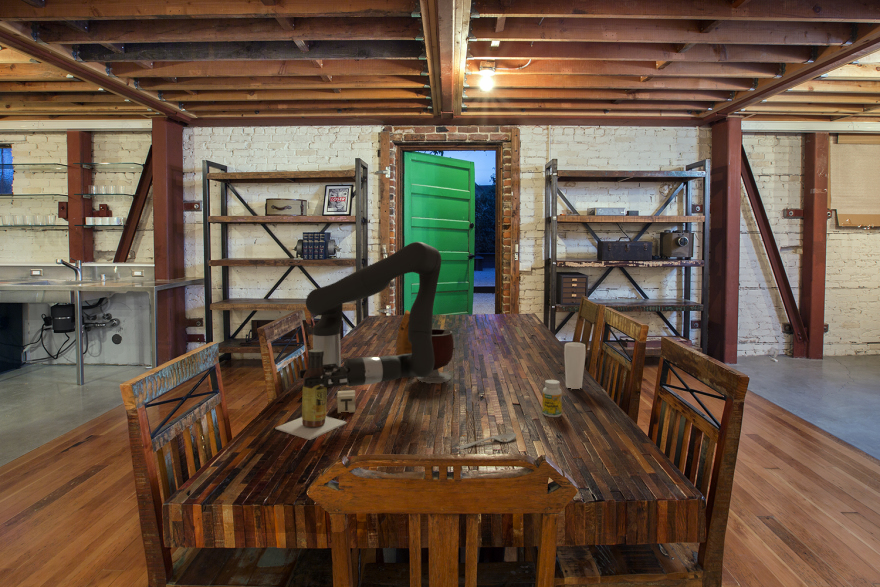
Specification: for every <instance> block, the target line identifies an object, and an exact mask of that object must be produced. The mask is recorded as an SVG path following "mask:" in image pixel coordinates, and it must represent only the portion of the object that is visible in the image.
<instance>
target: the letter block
mask: <svg viewBox="0 0 880 587" xmlns="http://www.w3.org/2000/svg"><path fill="white" fill-rule="evenodd" d="M336 398H337V399H336V400H337V414H342V413H341V412H349V413H356V390H355V389H354V390H353V389H352V390H339V391H337V397H336Z"/></svg>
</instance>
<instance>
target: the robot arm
mask: <svg viewBox="0 0 880 587" xmlns="http://www.w3.org/2000/svg"><path fill="white" fill-rule="evenodd" d="M441 255H442V254H441V253H440V251H439V249H437V248H436V247H433V246H432V245H429V244H427V243H425V242H422V241H415V242H410V243H409V244H406V245H405V246H404V247H402V248H400V249H399V250H397V251H396V252H393V253H392V254H391V255H388V256H387V257H385V258H383V259H380V260H378V261H376V262H374V263H372V264H369V265H367V266H364V267H363V268H360V269H358V270H356V271H355V272H352V273H350V274H348V275H347V276H345V277H343V278H341V279H339V280H337V281H336V282H333V283H331V284H328V285H324V286H322V287H318V288H315V289H313V290H311V291H310V292H309V293H308V295H307V296H306V298H305V306H306V308H307V311H309V313H310V314H312V315H315V316H320V319H319V320H318V321H317V322H316V323H315V324H314V325H313V327H312V348H313V349H320V350H323V351H324V356H323V368H324V372H325V374H324V375H321V376H320V378H319V376H313V377H305V378H304V385H305V386H315V385H319V384H320V386H324V387H325V388H327V389H328V388H333V387H340V386H347V387H358V386H366V385H374V384H377V383H383V382H390V381H396V380H398V379H404V378H417V377H426V376H428V375H429V374H430V373H431V372H432V370H433V368H434V351H433V344H432V339H431V338H432V329H433V314H434V313H433V312H434V305H435V299H436V293H437V288H438V283H439V277H440V272H441V267H442V256H441ZM409 273H415V274H418V277H419V278H418V279H419V281H418V282H419V283H418V284H419V285H418V291H417V294H416V297H415V299H414V301H413V304H412V306H411V308H410V311H409V312H410V314H409V324H408V340H409V342H410V343H411V345H412V353H410V354H403V355H398V356H396V355H384V356H383V355H381V356H362V357H354V358H346V359H345V360H344V363H343V366H342V365H341V327H342V324H343V306H344V305H343V304H346V303H352V302H355V301H359V300H363V299H366V298H369V297H372V296H374V295H377V294H380V293H381V292H383V291H384V290H386V288H387V287H388V286H390V283H391V282H392V280H394V279H395V278H398V277H400V276H403V275H407V274H409ZM307 369H308V368H307ZM307 369H300V370H299V378H300V379H303V377H304V374H305V372H306V371H307Z"/></svg>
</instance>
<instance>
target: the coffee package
mask: <svg viewBox="0 0 880 587" xmlns="http://www.w3.org/2000/svg"><path fill="white" fill-rule="evenodd" d="M409 314H410V311H409V310H405V311H404V314H403V317H402V319H401V322H400V323H399V327H398V332H397V338H396V345H395V346H396V347H395V348H396V350H395V354H396V355H395V356H398V355H403V354H410V353H412V345H411V343H410V342H409V340H408V324H409Z"/></svg>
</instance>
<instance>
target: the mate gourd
mask: <svg viewBox="0 0 880 587" xmlns="http://www.w3.org/2000/svg"><path fill="white" fill-rule="evenodd" d="M456 328H457V329H458V325H457V324H456V325H453V326H451V327H449V328H447V329H446V328H445V329H443V328H432V338H431V339H432V344H433V351H434V368H433V370H432V372H431V373H430V374H429V375H428V376H426V377H416V379H418V380H419V381H418V380H417V381H418V382H420V381H421V382H420V383H423V382H426V383H425V384H431V383H437V384H444V383H443V382H445V383H448V382H450V381H451V380H452V375H451V374H449V373H445V372H440V371H439V369H441V368H443V367H445V366H447V365H448V364H449V363H450V362H451V360H452V358H453V355H454V354H453V353H454V347H455V346H454V336H453V329H456ZM449 380H450V381H449ZM447 381H448V382H447Z"/></svg>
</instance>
